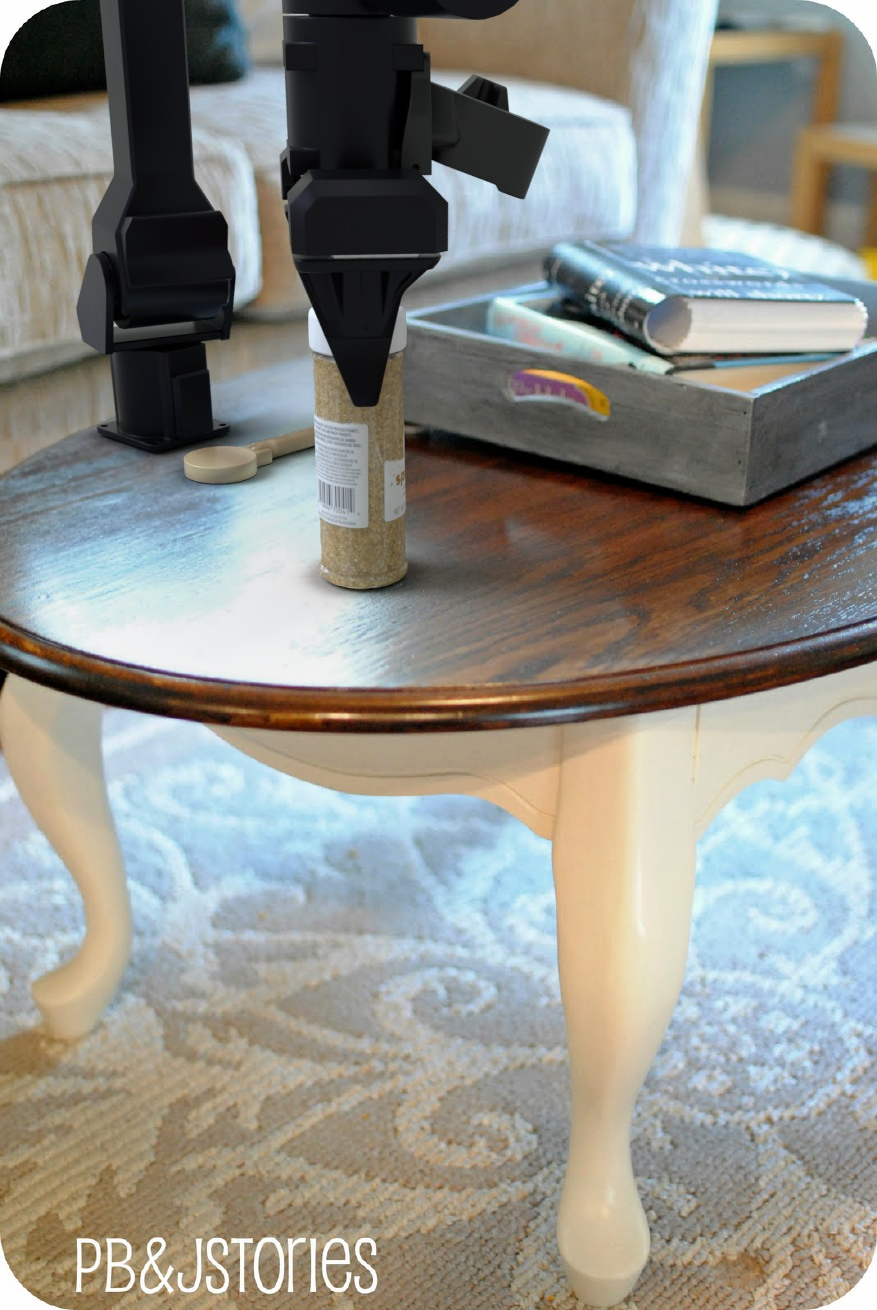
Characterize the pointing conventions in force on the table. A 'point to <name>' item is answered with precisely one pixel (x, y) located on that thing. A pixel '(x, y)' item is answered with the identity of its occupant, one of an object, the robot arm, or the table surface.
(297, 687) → the table surface
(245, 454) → the wooden spoon
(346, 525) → the sprinkles bottle
